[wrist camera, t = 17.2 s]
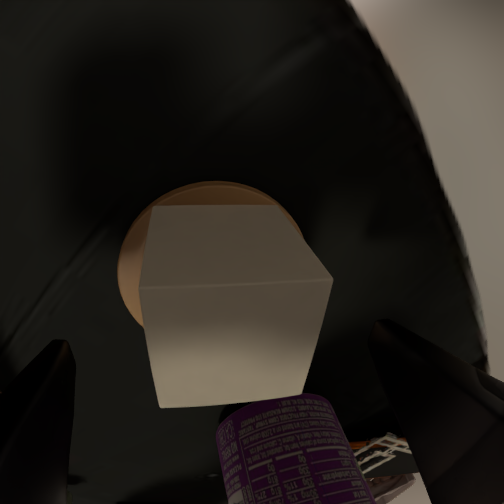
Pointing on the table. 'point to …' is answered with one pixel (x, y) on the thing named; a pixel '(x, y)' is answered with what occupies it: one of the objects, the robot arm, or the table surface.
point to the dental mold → (389, 487)
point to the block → (229, 304)
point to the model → (389, 445)
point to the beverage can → (289, 454)
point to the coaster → (184, 195)
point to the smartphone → (393, 467)
